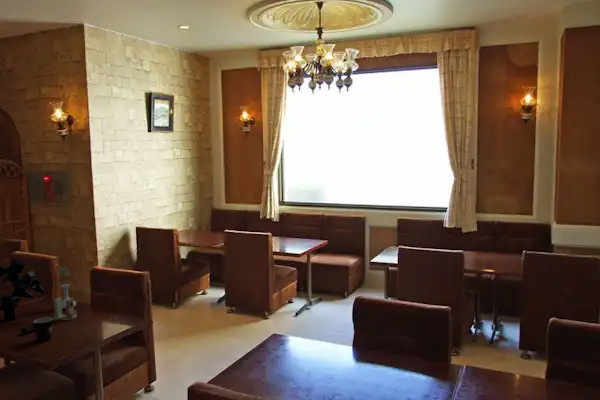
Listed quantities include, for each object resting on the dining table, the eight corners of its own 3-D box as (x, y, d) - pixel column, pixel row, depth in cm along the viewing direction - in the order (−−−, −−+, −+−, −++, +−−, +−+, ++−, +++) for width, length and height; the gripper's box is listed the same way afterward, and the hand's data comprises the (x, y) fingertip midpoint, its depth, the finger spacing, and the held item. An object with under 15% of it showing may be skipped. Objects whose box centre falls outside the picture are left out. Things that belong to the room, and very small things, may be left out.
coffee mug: (40, 344, 243) (39, 324, 242) (30, 340, 247) (30, 321, 246) (63, 336, 252) (62, 317, 252) (53, 333, 257) (52, 314, 256)
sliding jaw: (53, 318, 278) (52, 300, 277) (58, 314, 284) (57, 297, 283) (57, 317, 278) (56, 300, 277) (62, 314, 284) (61, 297, 283)
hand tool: (25, 335, 255) (25, 326, 254) (20, 334, 256) (20, 325, 256) (57, 324, 272) (57, 316, 271) (52, 323, 274) (52, 315, 273)
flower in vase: (80, 306, 303) (79, 266, 301) (63, 311, 294) (61, 269, 291) (67, 303, 310) (66, 263, 308) (50, 308, 301) (48, 267, 298)
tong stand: (50, 320, 278) (49, 301, 277) (55, 316, 284) (54, 297, 283) (72, 319, 278) (71, 300, 278) (76, 316, 284) (76, 297, 284)
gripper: (11, 272, 267) (34, 288, 266) (34, 264, 285) (56, 279, 284) (2, 289, 268) (25, 304, 267) (25, 280, 287) (47, 295, 286)
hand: (39, 295), depth 276 cm, fingers open, 9 cm apart
